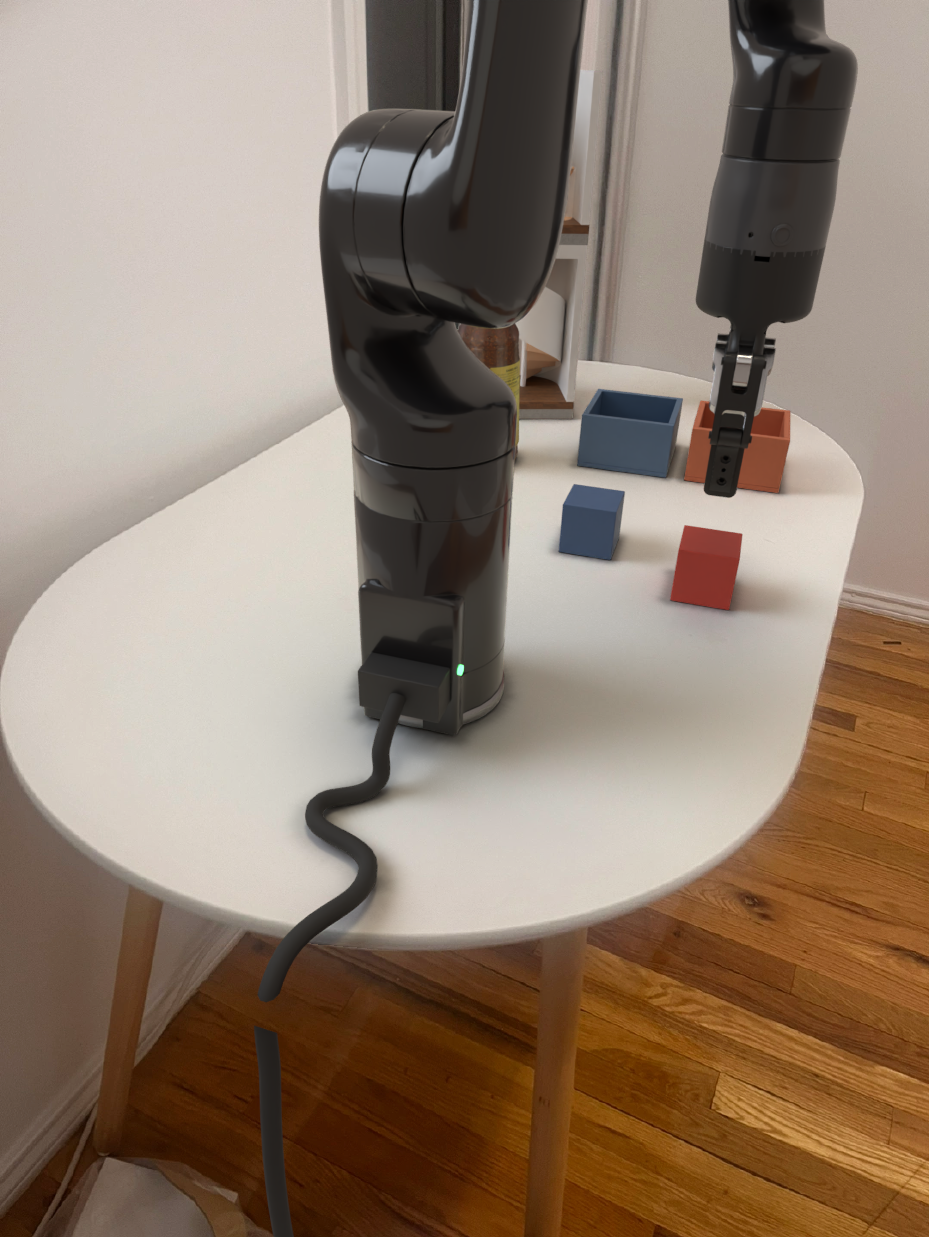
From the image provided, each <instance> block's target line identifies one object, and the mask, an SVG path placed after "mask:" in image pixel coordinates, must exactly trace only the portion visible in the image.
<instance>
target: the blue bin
mask: <svg viewBox="0 0 929 1237" xmlns="http://www.w3.org/2000/svg"><path fill="white" fill-rule="evenodd" d="M683 402H684V398H683V397H674V396H665V395H659V394H658V395H657V394H648V393H641V392H640V393H639V392H632V391H631V392H629V391H624V390H623V391H622V390H614V389H605V388H597V389H596V391H595V393H594V395H593V396H592V398H591V399H590V401H589V403H588V404H587V406H586V408H585V409H584V411H583V412H582V414H581V418H580V419H581V420H580V431H579V439H578V440H579V441H578V450H577V463H576V464H577V465H576V466H578V467H585V468H591V469H592V468H593V469H599V470H605V471H606V470H607V471H614V472H619V473H620V472H621V473H627V474H636V475H643V476H651V477H656V478H657V477H658V478H665V479H666V478H667V475H668V473H669V470H670V467H671V463H672V459H673V456H674V454H675V449H676V447H677V440H678V436H679V435H678V434H679V427H680V422H681V414H682V409H683V404H684V403H683Z"/></svg>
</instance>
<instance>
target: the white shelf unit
mask: <svg viewBox="0 0 929 1237" xmlns="http://www.w3.org/2000/svg"><path fill="white" fill-rule="evenodd" d="M603 76H604V70H599V69H598V70H597V69H596V70H594V69H593V70H592V69H580V78H579V89H578V100H577V110H576V121H575V132H574V142H573V153H572V162H571V171H570V180H569V189H568V197H567V204H566V211H565V217H564V223H563V228H562V234H561V239H560V244H559V248H558V252H557V255H556V259H555V262H554V265H553V268H552V271H551V274H550V277H549V279H548V281H547V284H546V286H545V288H544V290H543V292H542V294H541V296H540V298H539V299H538V301H537V303H536V304H535V306H534V307H533V308H532V309H531V310H530V311H529V312H528V314H527V315H526V316H525V317H524V318H523V319H521V320H520V321H518V322H516V323H515V324H516V326H517V327H518V330H519V343H518V344H519V358H520V387H519V420H573V417H574V416H573V415H574V406H575V396H576V386H577V375H578V374H577V372H578V361H579V352H580V351H579V350H580V339H581V327H582V317H583V316H582V315H583V307H584V306H583V304H584V295H585V293H584V292H585V283H586V282H585V280H586V270H587V260H588V259H587V258H588V249H589V248H588V247H589V236H590V225H591V224H590V223H591V213H592V202H593V192H594V181H595V180H594V179H595V167H596V156H597V146H598V134H599V121H600V110H601V99H602V87H603V78H604V77H603Z"/></svg>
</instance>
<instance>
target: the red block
mask: <svg viewBox="0 0 929 1237" xmlns="http://www.w3.org/2000/svg"><path fill="white" fill-rule="evenodd" d="M742 543H743V533H741V532H734V531H728V530H720V529H714V528H707V527H700V526H693V525H687V524H684V525H683V529H682V532H681V538H680V542H679V546H678V551H677V556H676V563H675V568H674V575H673V581H672V586H671V591H670V592H671V593H670V598H669V600H670V601H672V602H678V603H683V604H690V605H696V606H702V607H708V608H713V609H718V610H719V609H720V610H725V611H729V610H730V608H731V602H732V599H733V593H734V589H735V584H736V579H737V575H738V569H739V565H740V562H741V561H740V560H741V552H742Z"/></svg>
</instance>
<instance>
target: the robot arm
mask: <svg viewBox="0 0 929 1237" xmlns="http://www.w3.org/2000/svg"><path fill="white" fill-rule="evenodd" d="M588 1H589V0H467V5H466V20H465V35H464V36H465V37H464V45H463V46H464V47H463V57H462V64H461V65H462V67H461V74H460V82H459V90H458V95H457V101H456V106H455V111H453V110H437V109H420V108H392V107H391V108H388V107H387V108H379V109H373V110H369V111H365V112H363V113H362V114H360V115H358V116H357V117H355V118H354V119H352V120H351V121H350V122H348V124H347V125H345V127H344V128H343V129H342V130H341V132H340V133H339V134H338V136H337V139H335V142H334V143H333V145H332V147H331V149H330V151H329V154H328V157H327V160H326V163H325V166H324V169H323V174H322V179H321V184H320V192H319V201H318V202H319V203H318V241H319V242H318V243H319V244H318V245H319V257H320V258H319V259H320V267H321V268H320V270H321V277H322V287H323V294H324V295H323V296H324V305H325V313H326V323H327V331H328V341H329V350H330V351H329V352H330V359H331V368H332V374H333V380H334V384H335V386H336V390H337V393H338V395H339V397H340V399H341V402H342V404H343V406H344V408H345V410H346V412H347V414H348V417H349V418H348V419H349V423H350V439H351V443H350V444H351V461H352V478H353V479H352V480H353V483H352V484H353V507H354V508H353V509H354V525H355V527H354V528H355V544H356V545H355V547H356V549H355V550H356V564H357V565H356V566H357V567H356V568H357V585H358V586H357V587H358V590H357V596H358V597H357V599H358V601H357V602H358V618H359V637H360V638H359V641H360V658H361V659H360V660H361V666H360V667H359V668H358V670H357V683H358V701H359V702H358V704H359V707H362V708H363V715H364V716H365V717H368V718H371V719H377V720H379V722H378V725H377V727H376V731H375V734H374V738H373V742H372V747H371V762H372V773H371V774H370V776H369V777H368V778H367V779H366V780H365V781H363V782H361V783H358V784H355V785H349V786H343V787H334V788H329V789H325V790H322V791H320V792H318V793H316V794H315V796H313V797H312V798H310V799H309V801H308V803H307V804H306V807H305V812H304V819H305V823H306V826H307V828H308V830H310V832H312V834H314V835H315V836H316V837H318V838H319V839H321V840H322V841H323V842H326V844H329V845H330V846H333V847H334V848H336V849H339V850H340V851H342V852H344V853H345V854H347V855H349V857H351V858H352V859H353V860H355V863H356V864H357V868H358V869H357V874H356V876H355V878H354V880H353V882H351V884H350V886H349V887H347V888H346V889H345V890H344V891H343V892H341V893H340V894H338V895H337V896H335V897H334V898H332V899H330V900H329V901H328V902H326V903H324V904H323V905H321V906H320V907H318V908H317V909H315V910H313V911H312V912H311V913H309V914H308V915H307V916H305V917H304V918H303V919H301V920H300V921H299V922H298V923H297V924H296V925H295V926H294V927H293V928H292V929H291V930H290V931H289V932H288V933H287V934H285V935H284V938H282V940H281V941H280V942H279V944H278V945H277V946H276V948H275V950H274V951H273V954H272V955H271V957H270V959H269V961H268V963H267V965H266V967H265V970H264V973H263V975H262V977H261V981H260V984H259V987H258V991H257V997H258V999H259V1001H261V1002H264V1003H268V1002H272V1001H274V1000H275V999H276V998H277V997H278V996H280V994H281V990H282V988H283V985H284V982H285V980H286V977H287V975H288V972H289V970H290V968H291V966H292V964H293V963H294V961H295V959H296V958H297V957H298V955H299V954H300V952H301V951H302V950H303V949H304V948H305V946H307V945H308V944H309V943H310V942H311V941H312V940H313V939H314V938H315V937H317V936H318V935H319V934H321V933H322V932H323V931H325V930H326V929H328V928H329V927H331V926H332V925H333V924H335V923H336V922H338V921H340V920H342V919H343V918H344V917H346V916H347V915H349V914H350V913H351V912H352V911H354V910H355V909H356V908H358V907H359V906H360V905H362V903H363V902H364V901H365V900H366V899H367V898H368V897H369V895H370V894H371V893H372V891H373V890H374V887H375V884H376V882H377V876H378V870H379V868H378V867H379V864H378V860H377V859H378V858H377V855H376V854H375V852H374V850H373V849H372V848H371V847H370V846H369V845H368V844H367V843H366V842H365V841H363V840H362V839H361V838H359V837H358V836H356V835H355V834H353V833H351V832H350V831H347V830H345V829H343V828H342V827H340V826H337V825H335V824H334V823H332V822H331V821H329V820H328V819H327V818H326V817H325V815H324V813H325V811H326V810H328V809H331V808H336V807H343V806H349V805H350V806H351V805H355V804H360V803H363V802H366V801H368V800H370V799H372V798H374V797H375V796H377V795H378V794H379V793H380V792H381V791H382V790H384V788H385V787H386V785H387V784H388V782H389V780H390V776H391V758H390V752H391V747H392V743H393V738H394V735H395V732H396V728H397V726H398V724H399V725H403V726H405V727H412V728H417V729H423V730H427V731H432V732H435V733H439V734H445V735H449V736H455V735H457V734H458V733H459V731H460V729H461V728H462V727H463V726H464V725H466V724H469V723H472V722H475V721H477V720H479V719H481V718H482V717H484V716H486V715H487V714H488V713H491V711H492V710H493V709H495V708H496V706H497V705H498V704H499V703H500V700H501V699H502V698H503V694H504V690H505V689H504V688H505V670H504V662H505V661H504V660H505V644H506V643H505V642H506V625H507V624H506V623H507V622H506V621H507V605H508V604H507V603H508V585H509V567H510V566H509V564H510V547H511V530H512V513H513V512H512V511H513V492H514V479H515V464H516V463H515V462H516V459H515V441H516V426H517V405H516V399H515V396H514V394H513V392H512V390H511V388H510V387H509V386H508V385H507V384H506V383H505V382H504V381H503V380H502V379H501V378H500V377H499V376H498V375H496V374H495V373H494V372H493V371H491V370H490V369H489V368H488V367H487V366H485V365H484V364H483V363H482V362H481V361H480V360H479V359H478V358H477V357H476V356H475V355H474V354H473V353H472V352H471V350H470V349H469V348H468V347H467V345H466V344H465V342H464V341H463V339H462V338H461V336H460V334H459V332H458V328H457V325H456V324H459V325H460V324H464V325H468V326H473V327H479V328H485V329H502V328H506V327H510V326H511V325H513V324H515V323H516V322H518V321H520V320H521V319H523V318H524V317H525V316H526V315H527V314H528V312H529V311H530V310H531V309H532V308H533V307H534V306H535V304H536V303H537V301H538V299H539V298H540V296H541V294H542V292H543V290H544V288H545V286H546V284H547V281H548V279H549V277H550V274H551V271H552V268H553V265H554V262H555V259H556V255H557V252H558V248H559V244H560V239H561V234H562V228H563V223H564V217H565V211H566V204H567V197H568V189H569V180H570V171H571V162H572V153H573V142H574V132H575V121H576V110H577V100H578V89H579V78H580V70H581V69H582V68H581V67H582V58H583V47H584V37H585V29H586V20H587V9H588ZM727 4H728V6H727V7H728V27H729V28H728V29H729V42H730V44H729V45H730V51H731V61H732V72H733V73H732V77H733V78H732V85H731V90H730V96H729V101H728V108H727V113H726V119H725V127H724V133H723V140H722V147H721V153H722V154H721V155H720V159H719V164H718V168H717V171H716V175H715V179H714V181H713V182H714V183H713V186H712V189H711V195H710V200H709V207H708V213H707V218H706V219H707V220H706V225H705V232H704V233H705V234H704V239H703V246H702V253H701V260H700V266H699V274H698V281H697V287H696V293H695V305H696V306H697V308H698V309H699V310H700V311H701V312H703V313H704V314H706V315H709V316H711V317H712V318H713V317H714V318H718V319H720V318H724V319H726V320H728V321H729V323H730V327H729V332H728V333H721V332H718V333H717V336H716V342H715V344H714V350H713V355H712V362H711V369H712V371H713V377H712V378H713V379H712V382H711V383H712V384H711V390H710V395H709V400H708V401H709V409H710V410H711V411H712V412H713V413H714V414H715V416H714V421H713V427H712V431H709V437H708V439H710V444H711V449H710V454H709V460H708V466H707V472H706V477H705V483H703V492H704V494H706V495H707V496H712V497H719V498H728V499H729V498H730V499H731V498H733V497H734V496H735V495H736V494H737V491H738V488H737V485H738V480H739V475H740V470H741V465H742V460H743V454H744V449H748V445H749V443H750V444H751V441H752V436H751V435H750V434H751V429H752V424H753V419H754V416H757V415H758V414H759V413H760V411H761V407H763V404H764V398H765V392H766V385H767V381H768V377H769V376H770V374H772V370H773V367H774V362H775V357H776V352H777V348H776V342H777V337H769V336H767V331H768V330H769V327H770V326H771V325H773V324H777V323H781V324H789V323H794V322H798V321H801V320H803V319H805V318H806V317H808V316H809V314H811V312H812V310H813V306H814V302H815V297H816V293H817V288H818V283H819V279H820V274H821V270H822V266H823V260H824V256H825V252H826V247H827V242H828V238H829V232H830V228H831V223H832V221H833V220H832V219H833V215H834V211H835V205H836V200H837V191H838V178H839V169H840V164H841V160H840V158H841V157H842V154H843V149H844V144H845V138H846V134H847V130H848V125H849V120H850V116H851V111H852V109H851V108H852V107H853V102H854V98H855V92H856V86H857V82H858V71H859V64H858V59H857V57H856V56H857V55H856V54H855V53H854V51H853V50H852V49H851V47H849V46H847V45H845V44H843V43H842V42H839V41H836V40H834V39H832V38H830V37H829V35H828V34H827V31H826V30H827V29H826V15H825V14H826V13H825V0H727ZM253 1031H254V1044H255V1051H256V1059H257V1068H258V1084H259V1085H258V1086H259V1089H258V1090H259V1119H260V1120H259V1121H260V1136H261V1153H262V1164H263V1174H264V1176H263V1177H264V1184H265V1193H266V1199H267V1206H268V1213H269V1220H270V1225H271V1231H272V1237H295V1236H294V1230H293V1225H292V1218H291V1211H290V1205H289V1197H288V1188H287V1180H286V1169H285V1168H286V1166H285V1153H284V1137H283V1136H284V1134H283V1116H282V1111H283V1110H282V1065H281V1055H280V1054H281V1053H280V1046H279V1038H278V1033H277V1032H276V1031H274V1030H273V1031H272V1030H270V1029H266V1028H263V1027H261V1026H257V1025H253Z"/></svg>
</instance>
